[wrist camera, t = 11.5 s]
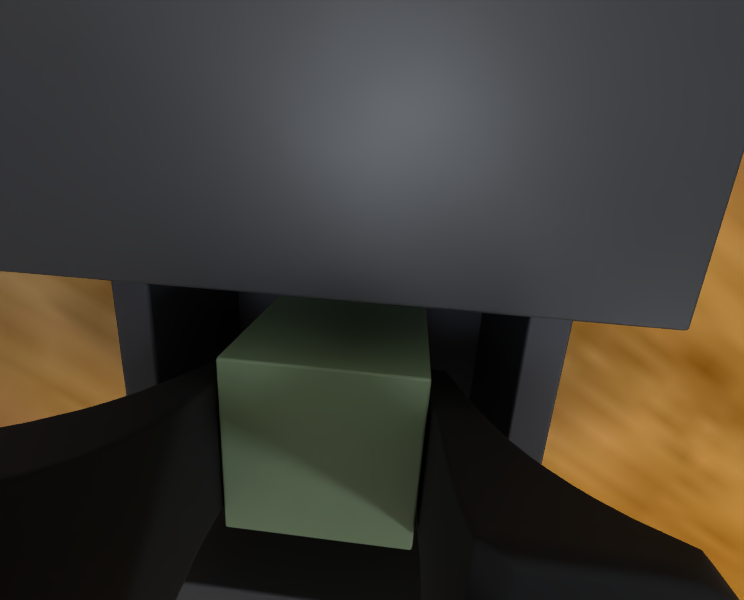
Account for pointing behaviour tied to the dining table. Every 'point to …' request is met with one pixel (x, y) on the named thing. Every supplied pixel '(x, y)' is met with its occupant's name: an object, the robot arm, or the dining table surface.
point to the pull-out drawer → (314, 555)
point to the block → (326, 420)
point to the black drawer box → (377, 149)
